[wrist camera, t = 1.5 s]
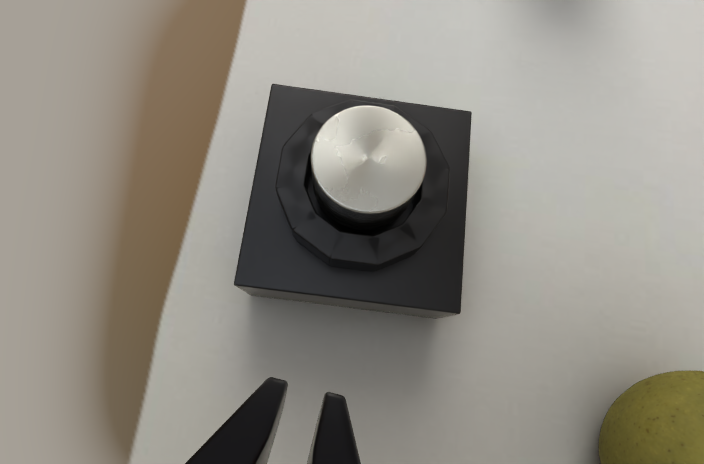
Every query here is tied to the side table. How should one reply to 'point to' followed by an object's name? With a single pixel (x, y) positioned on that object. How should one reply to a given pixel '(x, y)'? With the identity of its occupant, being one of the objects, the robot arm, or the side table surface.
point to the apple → (656, 422)
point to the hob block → (346, 243)
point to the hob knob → (366, 166)
